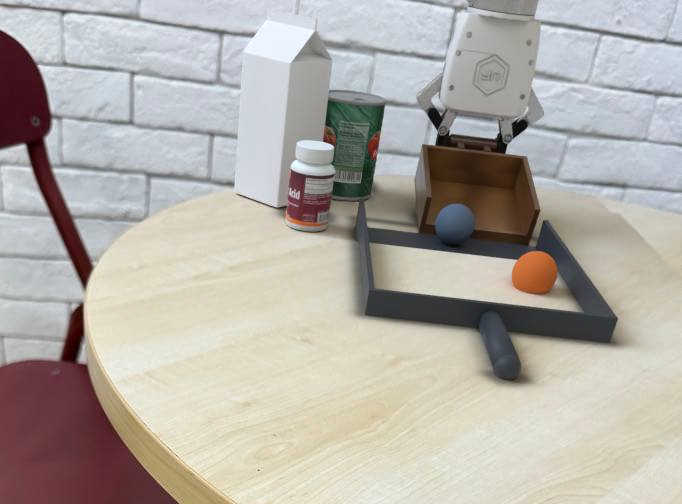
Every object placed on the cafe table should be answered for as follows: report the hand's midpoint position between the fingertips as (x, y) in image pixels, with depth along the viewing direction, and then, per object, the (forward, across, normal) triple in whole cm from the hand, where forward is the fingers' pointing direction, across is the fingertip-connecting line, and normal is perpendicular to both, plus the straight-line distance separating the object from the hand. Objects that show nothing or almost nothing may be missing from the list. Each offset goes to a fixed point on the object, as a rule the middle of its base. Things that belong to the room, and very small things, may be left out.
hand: (465, 170), depth 105 cm
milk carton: (+5, -23, -6) cm, 24 cm away
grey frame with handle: (+4, -3, -34) cm, 34 cm away
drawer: (+2, 0, -7) cm, 7 cm away
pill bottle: (+5, -19, -16) cm, 25 cm away
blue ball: (+2, -3, -18) cm, 18 cm away
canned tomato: (+5, -15, 0) cm, 16 cm away
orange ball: (+2, +3, -31) cm, 32 cm away
